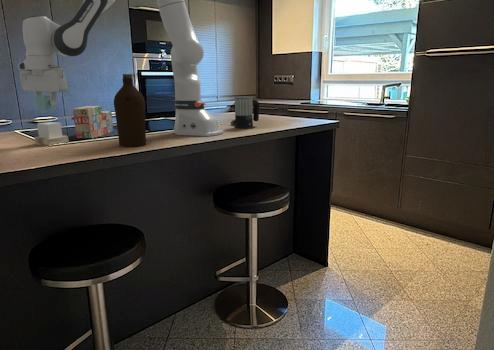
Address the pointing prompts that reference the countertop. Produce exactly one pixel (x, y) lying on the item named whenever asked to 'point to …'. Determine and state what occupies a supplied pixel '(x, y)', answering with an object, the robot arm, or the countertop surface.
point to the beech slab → (51, 140)
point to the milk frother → (245, 112)
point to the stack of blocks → (92, 121)
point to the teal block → (44, 102)
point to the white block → (49, 130)
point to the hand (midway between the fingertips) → (46, 104)
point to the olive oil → (130, 114)
